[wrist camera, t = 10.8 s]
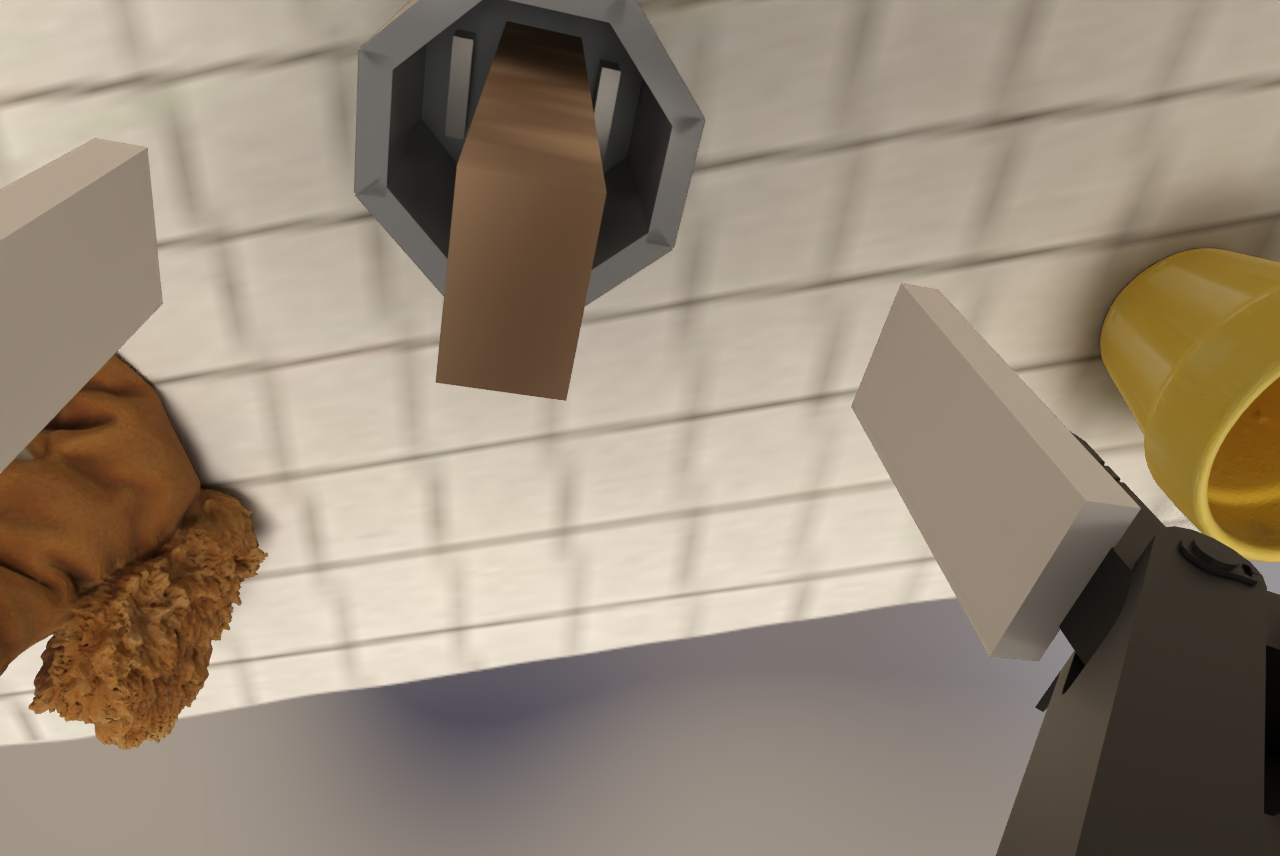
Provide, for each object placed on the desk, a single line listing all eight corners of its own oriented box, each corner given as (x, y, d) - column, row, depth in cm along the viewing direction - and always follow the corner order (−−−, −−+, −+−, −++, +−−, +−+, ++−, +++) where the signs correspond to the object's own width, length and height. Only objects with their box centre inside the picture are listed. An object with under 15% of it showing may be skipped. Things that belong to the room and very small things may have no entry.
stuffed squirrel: (33, 287, 30) (-253, 519, 19) (342, 508, 37) (258, 772, 26) (-109, 441, 33) (-429, 718, 22) (202, 620, 40) (73, 900, 29)
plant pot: (1009, 318, 35) (1151, 452, 27) (1248, 145, 32) (1490, 237, 24) (1110, 458, 40) (1255, 608, 32) (1326, 320, 37) (1550, 447, 28)
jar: (685, -22, 27) (731, 13, 20) (630, 232, 31) (653, 328, 25) (410, -87, 25) (362, -74, 18) (394, 191, 30) (351, 282, 23)
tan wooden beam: (581, 37, 27) (606, 193, 14) (561, 160, 29) (565, 400, 16) (506, 20, 26) (456, 164, 13) (491, 147, 29) (436, 382, 15)
